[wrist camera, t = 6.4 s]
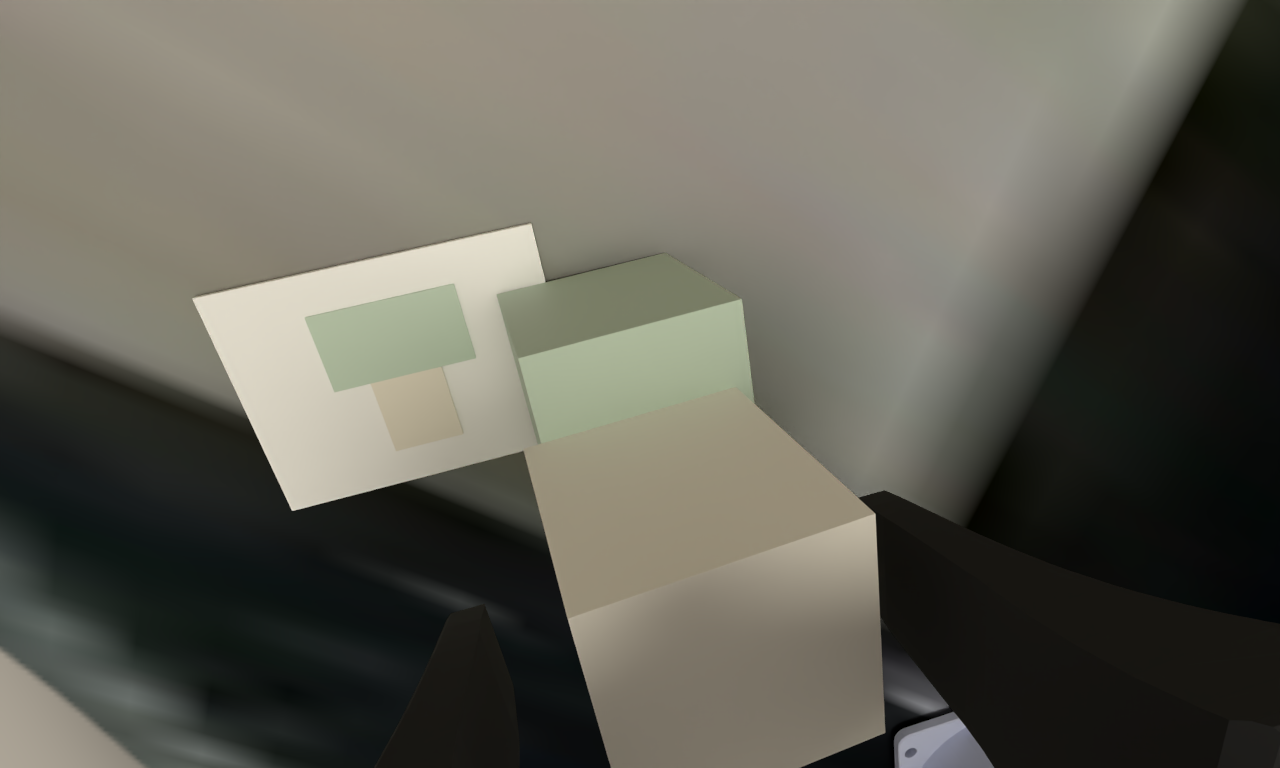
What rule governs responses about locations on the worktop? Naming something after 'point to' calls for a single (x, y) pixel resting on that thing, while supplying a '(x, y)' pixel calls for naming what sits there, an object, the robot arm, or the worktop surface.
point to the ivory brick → (714, 588)
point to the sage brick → (623, 343)
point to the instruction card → (380, 364)
